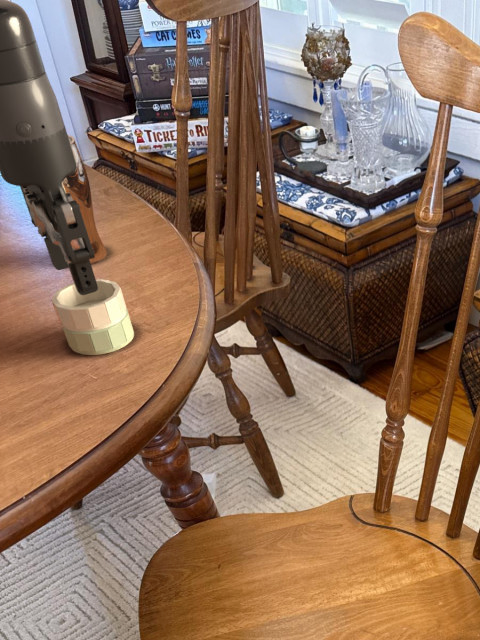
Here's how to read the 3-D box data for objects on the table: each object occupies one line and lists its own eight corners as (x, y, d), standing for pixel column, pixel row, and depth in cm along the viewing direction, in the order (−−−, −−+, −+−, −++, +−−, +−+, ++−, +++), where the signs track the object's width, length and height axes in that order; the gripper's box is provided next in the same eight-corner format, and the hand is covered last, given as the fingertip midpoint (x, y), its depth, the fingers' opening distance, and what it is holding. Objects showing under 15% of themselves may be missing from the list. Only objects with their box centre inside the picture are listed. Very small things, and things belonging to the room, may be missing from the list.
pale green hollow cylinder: (94, 361, 88) (86, 339, 86) (57, 342, 92) (49, 320, 90) (147, 335, 92) (140, 313, 90) (109, 317, 96) (103, 296, 94)
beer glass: (119, 255, 109) (86, 140, 99) (74, 272, 106) (35, 154, 95) (94, 242, 113) (60, 130, 102) (49, 257, 109) (9, 143, 99)
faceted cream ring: (70, 338, 87) (62, 315, 85) (53, 313, 91) (45, 290, 89) (135, 319, 89) (128, 296, 87) (115, 295, 94) (108, 273, 92)
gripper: (85, 135, 76) (130, 292, 87) (40, 104, 85) (86, 250, 96) (7, 152, 73) (64, 312, 84) (-32, 118, 81) (25, 268, 93)
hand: (76, 279), depth 90 cm, fingers open, 8 cm apart
